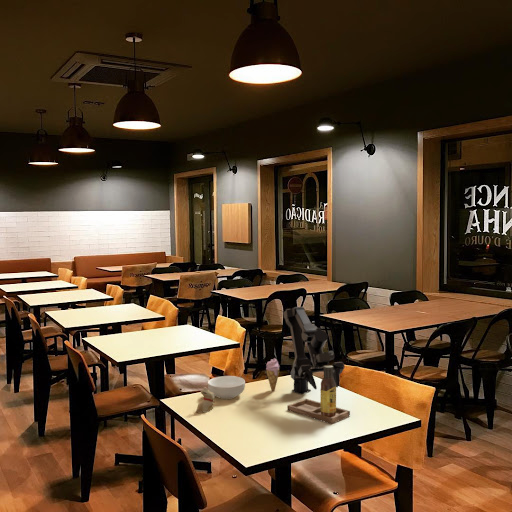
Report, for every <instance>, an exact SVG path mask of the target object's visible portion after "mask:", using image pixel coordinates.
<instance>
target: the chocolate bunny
mask: <svg viewBox="0 0 512 512" xmlns="http://www.w3.org/2000/svg"><path fill="white" fill-rule="evenodd" d="M200 394H201V395H202V397H203V399H202V400H201V401H199V402H198V404H197V407H196V413H207V411H208V412H211V411H212V409H213V410H214V403H215V401H214V400H215V396H214V393H213V392H210V391H209V389H208V388H207V387H206V386H203V389H202V390H200ZM210 410H211V411H210Z"/></svg>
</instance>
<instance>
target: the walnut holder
mask: <svg viewBox="0 0 512 512" xmlns="http://www.w3.org/2000/svg"><path fill="white" fill-rule="evenodd" d="M286 409H287V411H289V412H291V413H295V414H298V415H302V416H304V417H308V418H311V419H314V418H315V420H317V419H318V420H317V421H320V420H322V421H321V422H323V421H325V422H324V423H327V422H328V423H327V424H330V423H331V424H330V425H332V424H335V423H336V421H337V422H339V421H342V420H344V419H346V418H348V417H347V416H349V415H350V416H351V410H348V409H343V408H342V407H341V408H340V407H337V406H336V414H335V416H332V417H327V416H324V415H321V401H320V402H319V401H316V400H312V399H310V398H304V399H301V400H299V401H297V402H293V403H291V404H288V405H287V407H286ZM350 416H349V417H350ZM345 417H346V418H345ZM343 418H344V419H343ZM341 419H342V420H341ZM338 420H339V421H338ZM334 422H335V423H334Z"/></svg>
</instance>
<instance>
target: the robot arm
mask: <svg viewBox="0 0 512 512" xmlns="http://www.w3.org/2000/svg"><path fill="white" fill-rule="evenodd" d="M283 319H284V321H285V323H286V325H287V326H288V327H289V329H290V334H291V335H290V336H291V340H292V347H293V352H294V353H293V354H294V360H293V362H292V369H291V371H290V372H289V373H290V378H291V380H293V389H291V392H293V393H297V394H300V395H303V394H307V393H309V392H311V391H312V390H311V389H310V388H309V385H311V386H312V389H314V390H315V391H316V390H317V389H318V387H317V383H316V381H315V377H314V375H313V373H319V372H321V373H323V372H324V370H323V366H325V365H330V362H331V361H332V360H334V359H335V353H334V351H333V350H329V351H327V352H324V351H323V348H324V347H325V345H326V344H327V343H326V342H327V341H328V339H329V335H328V334H327V332H326V331H324V330H323V329H322V328H321V327H317V326H316V325H314V324H312V322H311V321H310V319H309V317H308V315H307V314H306V310H305V307H304V306H294V307H292V308H286V309H285V311H284V312H283ZM303 342H304V343H309V344H308V345H307V352H308V354H309V358H308V357H307V356H306V353H305V347H304V346H305V345H304V343H303ZM311 364H312V365H311ZM312 366H313V367H312ZM331 366H333V378H334V381H335V384H336V388H338V387H339V376H340V375H341V374H342V373H343V371H344V370H345V368H346V367H345V364H344V362H343V361H337V362H336V361H335V362H333V364H332V365H331Z"/></svg>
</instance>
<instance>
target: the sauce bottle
mask: <svg viewBox="0 0 512 512" xmlns="http://www.w3.org/2000/svg"><path fill="white" fill-rule="evenodd" d="M323 370H324V371H323V378H322V379H321V382H320V403H321V415H324V416H327V417H332V416H335V414H336V407H337V387H336V384H335V381H334V378H333V366H332V365H330V364H327V365H325V366H323Z"/></svg>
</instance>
